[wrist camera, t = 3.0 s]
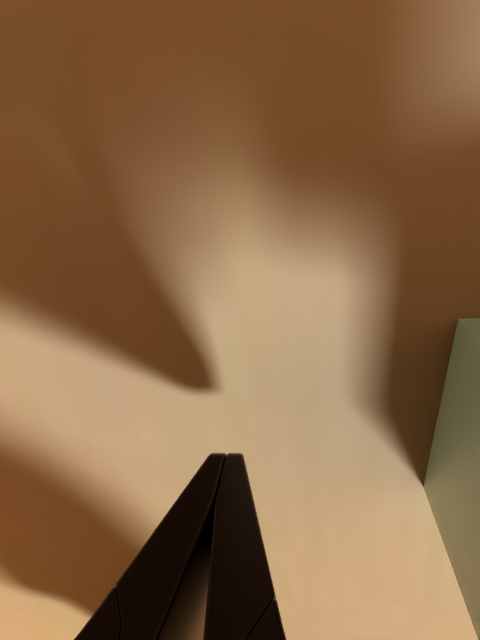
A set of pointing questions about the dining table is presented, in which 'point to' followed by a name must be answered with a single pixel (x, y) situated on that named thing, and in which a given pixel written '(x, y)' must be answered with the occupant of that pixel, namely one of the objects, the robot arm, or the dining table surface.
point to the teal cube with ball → (459, 464)
